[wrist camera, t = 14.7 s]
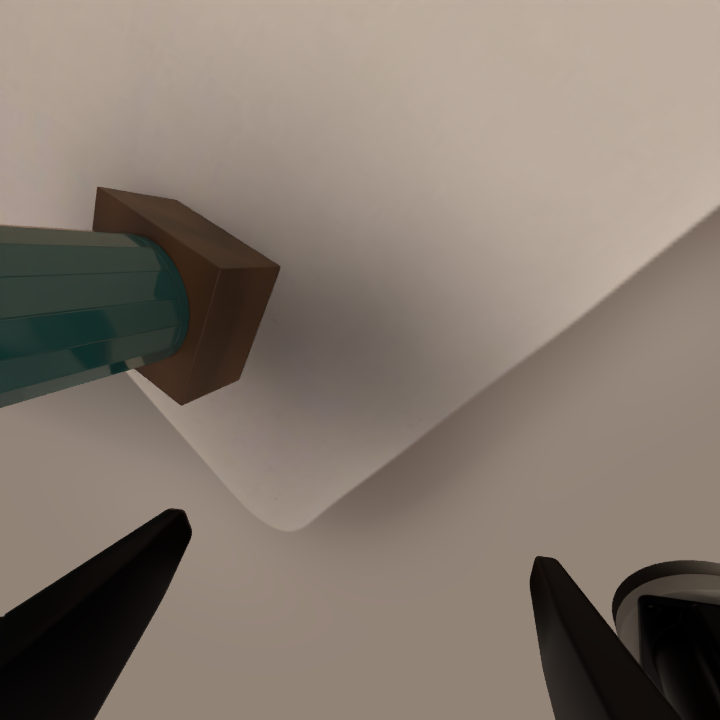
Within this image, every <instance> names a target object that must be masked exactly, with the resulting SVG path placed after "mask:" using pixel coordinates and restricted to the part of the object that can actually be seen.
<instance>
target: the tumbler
mask: <svg viewBox="0 0 720 720" xmlns="http://www.w3.org/2000/svg"><path fill="white" fill-rule="evenodd" d="M188 327H189V303H188V297H187V292H186V289H185V286H184V283H183V280H182V278H181V275H180V273H179V271H178V269H177V267H176V266H175V264H174V263H173V261H172V259H171V258H170V257H169V256H168V254H167V253H166V252H165V251H164V250H163V249H162V248H161V247H160V246H159V245H158V244H156V243H155V242H154V241H152V240H150V239H149V238H147V237H144V236H142V235H138V234H131V233H120V232H109V231H94V230H78V229H63V228H48V227H33V226H17V225H2V224H0V408H2V407H5V406H9V405H12V404H15V403H19V402H22V401H26V400H29V399H32V398H36V397H39V396H43V395H46V394H49V393H53V392H56V391H60V390H63V389H66V388H70V387H73V386H76V385H80V384H83V383H86V382H90V381H94V380H97V379H100V378H104V377H107V376H110V375H114V374H117V373H121V372H124V371H127V370H131V369H134V368H138V367H141V366H144V365H148V364H151V363H155V362H158V361H161V360H164V359H167V358H169V357H171V356H172V355H174V354H175V353H176V352H177V351H178V350H179V349H180V347H181V346H182V344H183V342H184V340H185V338H186V335H187V331H188Z"/></svg>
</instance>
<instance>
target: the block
mask: <svg viewBox="0 0 720 720" xmlns="http://www.w3.org/2000/svg"><path fill="white" fill-rule="evenodd" d="M92 230H94V231H109V232H120V233H131V234H138V235H142V236H144V237H147V238H149V239H150V240H152V241H154V242H155V243H156V244H158V245H159V246H160V247H161V248H162V249H163V250H164V251H165V252H166V253H167V254H168V256H169V257H170V258H171V259H172V261H173V263H174V264H175V266H176V267H177V269H178V271H179V273H180V275H181V278H182V280H183V283H184V286H185V289H186V292H187V297H188V303H189V327H188V331H187V335H186V338H185V340H184V342H183V344H182V346H181V347H180V349H179V350H178V351H177V352H176V353H175V354H174V355H172V356H171V357H169V358H167V359H164V360H161V361H158V362H155V363H151V364H148V365H144V366H141V367H138V368H134V369H135V370H137V371H138V372H139V373H140V374H142V375H143V376H144V377H146V378H147V379H148V380H149V381H151V382H152V383H153V384H154V385H156V386H157V387H158V388H159V389H161V390H162V391H163V392H164V393H166V394H167V395H168V396H169V397H171V398H172V399H173V400H174V401H176V402H177V403H178V404H180V405H181V406H182V405H184V404H187V403H189V402H191V401H193V400H195V399H198V398H200V397H202V396H204V395H207V394H209V393H211V392H213V391H215V390H218V389H220V388H222V387H224V386H227V385H229V384H231V383H233V382H235V381H238V380H239V378H240V376H241V373H242V370H243V367H244V365H245V362H246V359H247V357H248V354H249V351H250V349H251V346H252V343H253V340H254V338H255V335H256V332H257V330H258V327H259V324H260V321H261V319H262V316H263V313H264V311H265V308H266V305H267V302H268V300H269V297H270V294H271V292H272V289H273V286H274V283H275V281H276V278H277V275H278V273H279V270H280V266H279V265H277V264H276V263H274V262H272V261H271V260H269V259H268V258H266V257H265V256H263V255H261V254H260V253H258V252H257V251H255V250H254V249H252V248H250V247H249V246H247V245H246V244H244V243H243V242H241V241H240V240H238V239H236V238H235V237H233V236H232V235H230V234H229V233H227V232H225V231H224V230H222V229H221V228H219V227H218V226H216V225H214V224H213V223H211V222H210V221H208V220H207V219H205V218H203V217H202V216H200V215H199V214H197V213H196V212H194V211H192V210H191V209H189V208H188V207H186V206H185V205H183V204H181V203H180V202H178V201H177V200H173V199H167V198H161V197H156V196H150V195H144V194H138V193H132V192H127V191H121V190H115V189H109V188H104V187H97V193H96V202H95V211H94V219H93V228H92Z"/></svg>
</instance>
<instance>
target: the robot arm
mask: <svg viewBox="0 0 720 720" xmlns="http://www.w3.org/2000/svg"><path fill="white" fill-rule="evenodd" d="M191 536H192V529H191V526H190V523H189V521H188V518H187V515H186V513H185V511H184V510H181V509H174V508H171V509H167V510H165V511H164V512H162V513H161V514H159V515H158V516H156V517H155V518H153V519H152V520H150V521H149V522H147V523H145V524H144V525H143V526H141V527H139V528H138V529H136V530H134V531H133V532H131V533H130V534H129V535H127V536H125V537H124V538H122V539H121V540H119V541H118V542H116V543H114V544H113V545H111V546H110V547H108V548H107V549H105V550H104V551H102V552H100V553H99V554H97V555H96V556H94V557H93V558H91V559H90V560H88V561H86V562H85V563H83V564H82V565H80V566H79V567H77V568H76V569H74V570H73V571H71V572H69V573H68V574H66V575H65V576H63V577H62V578H60V579H59V580H57V581H56V582H54V583H53V584H51V585H49V586H48V587H46V588H45V589H43V590H42V591H40V592H39V593H37V594H35V595H34V596H32V597H31V598H30V599H28V600H26V601H25V602H23V603H22V604H20V605H18V606H17V607H15V608H14V609H12V610H11V611H9V612H8V613H6V614H5V616H4V617H0V720H94V719H95V717H96V716H97V714H98V712H99V710H100V709H101V707H102V705H103V703H104V701H105V700H106V698H107V696H108V694H109V693H110V691H111V689H112V687H113V686H114V684H115V682H116V680H117V678H118V677H119V675H120V673H121V672H122V670H123V668H124V666H125V665H126V662H127V661H128V659H129V657H130V656H131V654H132V652H133V650H134V649H135V647H136V645H137V643H138V642H139V640H140V638H141V636H142V635H143V633H144V631H145V629H146V628H147V626H148V624H149V622H150V621H151V619H152V617H153V615H154V613H155V612H156V610H157V608H158V606H159V604H160V602H161V601H162V599H163V597H164V595H165V593H166V591H167V589H168V587H169V585H170V583H171V580H172V578H173V576H174V574H175V572H176V570H177V567H178V565H179V563H180V561H181V558H182V556H183V554H184V552H185V550H186V548H187V546H188V544H189V541H190V539H191ZM530 591H531V597H532V604H533V611H534V617H535V623H536V630H537V636H538V642H539V649H540V655H541V661H542V667H543V672H544V676H545V680H546V684H547V688H548V692H549V696H550V700H551V704H552V708H553V712H554V716H555V719H556V720H720V605H716V604H709V603H702V602H696V601H689V600H682V599H676V598H669V597H662V596H656V595H641V596H640V597H639V598H638V600H637V606H638V630H639V653H640V664H639V663H638V662H637V660H636V659H635V658H634V657H633V655H632V654H631V653H630V651H629V650H628V649H627V648H626V646H625V645H624V644H623V643H622V641H621V640H620V639H619V638H618V636H617V635H616V634H615V633H614V632H613V630H612V629H611V627H610V626H609V625H608V624H607V622H606V621H605V620H604V619H603V617H602V616H601V615H600V613H599V612H598V611H597V610H596V608H595V607H594V606H593V605H592V603H591V602H590V601H589V600H588V598H587V597H586V596H585V594H584V593H583V592H582V591H581V589H580V588H579V587H578V586H577V584H576V583H575V582H574V581H573V579H572V578H571V577H570V576H569V574H568V573H567V572H566V570H565V569H564V568H563V567H562V565H561V564H560V563H559V562H558V561H557V560H556V559H554V558H549V557H542V556H537V557H536V558H535V561H534V565H533V568H532V572H531V576H530ZM648 606H654V607H648Z"/></svg>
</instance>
